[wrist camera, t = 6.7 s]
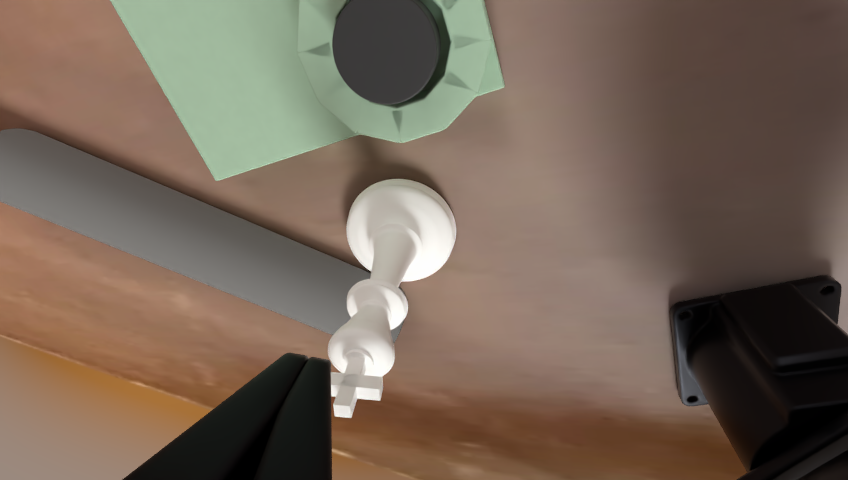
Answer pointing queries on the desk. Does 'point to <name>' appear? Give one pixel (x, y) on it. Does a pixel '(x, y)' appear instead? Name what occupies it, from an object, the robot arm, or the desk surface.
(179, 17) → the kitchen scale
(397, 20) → the button
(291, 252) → the gray half cylinder
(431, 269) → the chess piece
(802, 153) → the desk surface
